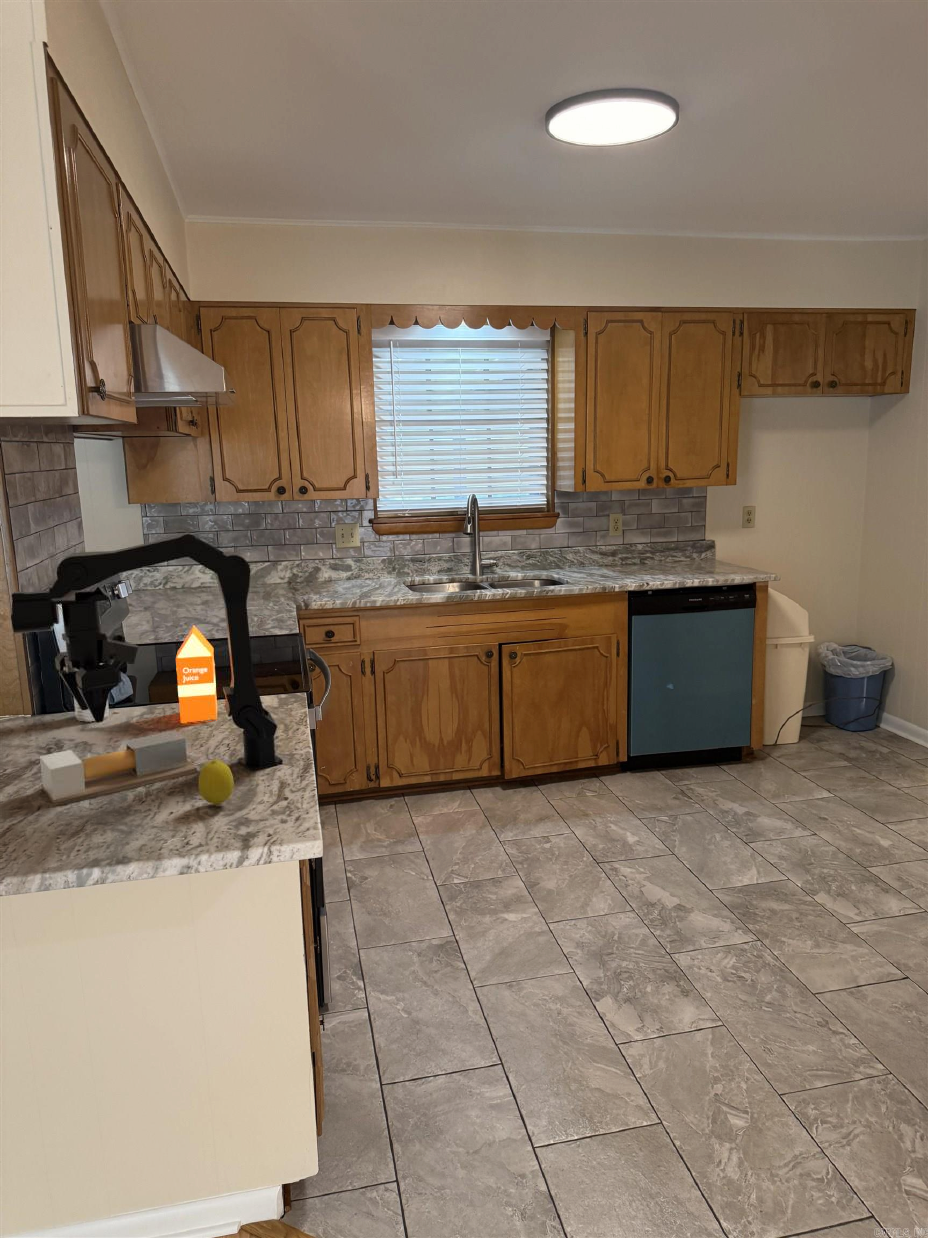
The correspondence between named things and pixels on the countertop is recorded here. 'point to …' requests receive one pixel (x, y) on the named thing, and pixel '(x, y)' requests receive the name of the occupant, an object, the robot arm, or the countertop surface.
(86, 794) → the walnut board
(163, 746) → the steel sleeve
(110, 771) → the orange tube
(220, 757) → the countertop surface
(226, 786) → the lemon
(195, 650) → the orange juice
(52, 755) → the white socket
